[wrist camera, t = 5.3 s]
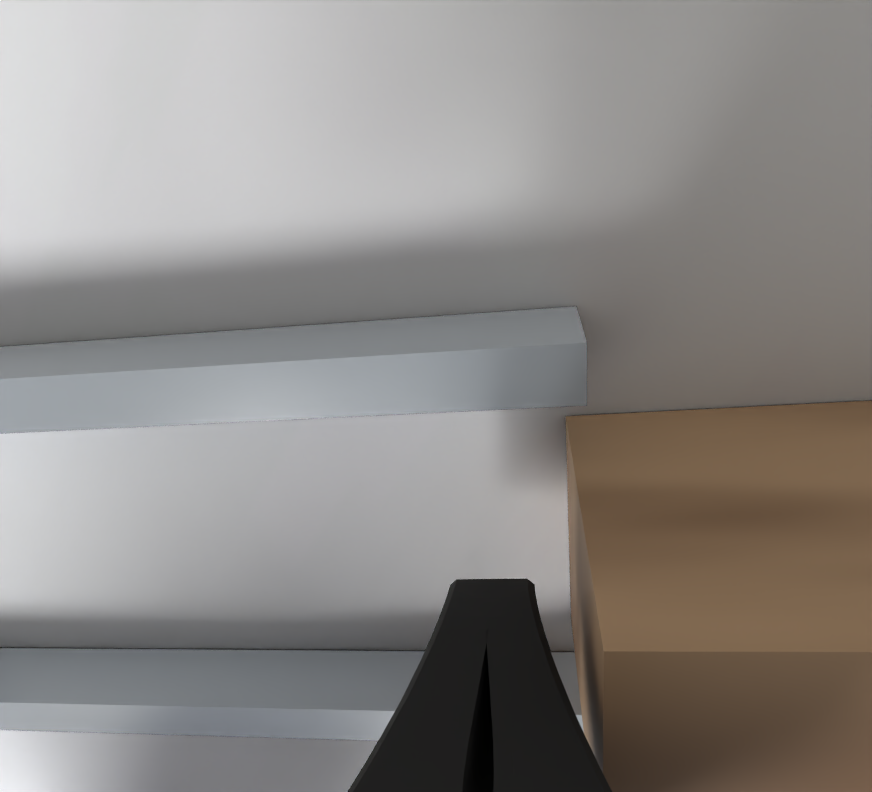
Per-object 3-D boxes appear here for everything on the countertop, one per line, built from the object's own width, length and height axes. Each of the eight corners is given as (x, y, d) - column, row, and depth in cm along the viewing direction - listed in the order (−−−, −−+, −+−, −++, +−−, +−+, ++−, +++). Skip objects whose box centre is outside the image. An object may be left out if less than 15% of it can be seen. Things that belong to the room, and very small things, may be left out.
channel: (579, 683, 14) (586, 747, 13) (-170, 672, 17) (-228, 723, 16) (576, 306, 10) (586, 342, 9) (-412, 375, 13) (-518, 411, 12)
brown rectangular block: (934, 618, 12) (1174, 929, 8) (571, 620, 13) (602, 896, 9) (1011, 392, 10) (1413, 652, 6) (566, 416, 11) (603, 651, 7)
